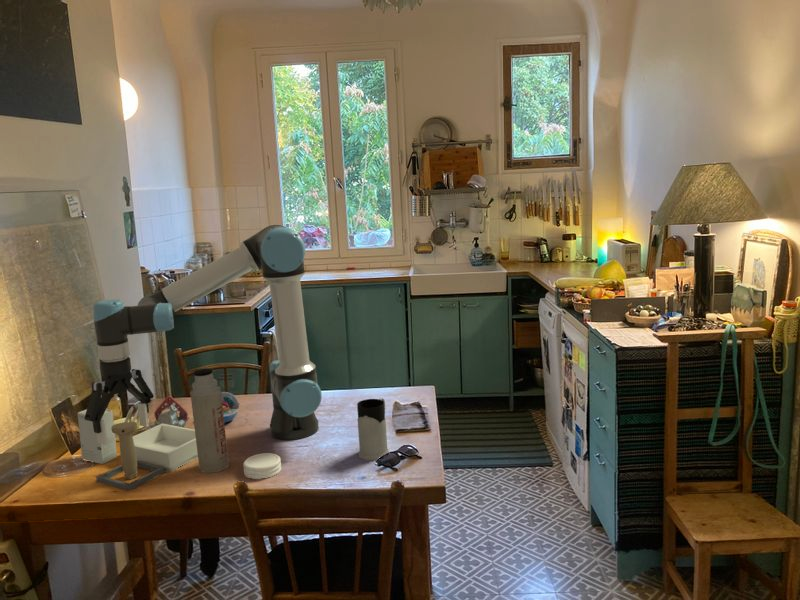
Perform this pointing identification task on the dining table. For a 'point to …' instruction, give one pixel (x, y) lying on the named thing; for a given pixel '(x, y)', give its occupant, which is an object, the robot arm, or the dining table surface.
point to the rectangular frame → (155, 472)
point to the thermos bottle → (209, 422)
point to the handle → (127, 447)
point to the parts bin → (166, 446)
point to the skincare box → (89, 439)
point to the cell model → (229, 406)
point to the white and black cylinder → (372, 429)
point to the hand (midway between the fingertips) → (124, 434)
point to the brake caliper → (170, 414)
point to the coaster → (262, 466)
